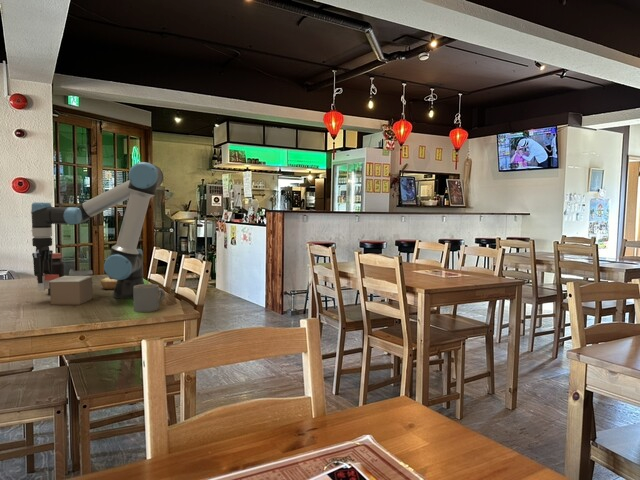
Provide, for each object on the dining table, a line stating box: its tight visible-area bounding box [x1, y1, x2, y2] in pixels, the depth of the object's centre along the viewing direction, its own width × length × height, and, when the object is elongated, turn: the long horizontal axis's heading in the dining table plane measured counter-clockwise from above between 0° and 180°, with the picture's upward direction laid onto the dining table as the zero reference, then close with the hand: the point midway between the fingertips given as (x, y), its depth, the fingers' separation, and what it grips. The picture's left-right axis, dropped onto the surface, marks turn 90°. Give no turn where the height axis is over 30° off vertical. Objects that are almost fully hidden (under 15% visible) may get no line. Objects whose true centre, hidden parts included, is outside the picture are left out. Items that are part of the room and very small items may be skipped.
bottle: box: [47, 252, 65, 296], centre depth 219 cm, size 7×7×20 cm
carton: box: [50, 277, 93, 306], centre depth 203 cm, size 12×14×10 cm
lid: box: [43, 275, 93, 282], centre depth 202 cm, size 20×14×2 cm
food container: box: [68, 268, 94, 279], centre depth 232 cm, size 12×6×10 cm, turn 81°
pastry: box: [100, 276, 117, 291], centre depth 238 cm, size 12×12×9 cm
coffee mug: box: [133, 283, 166, 313], centre depth 191 cm, size 13×10×10 cm
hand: (43, 289), depth 201 cm, fingers closed on lid, 3 cm apart
